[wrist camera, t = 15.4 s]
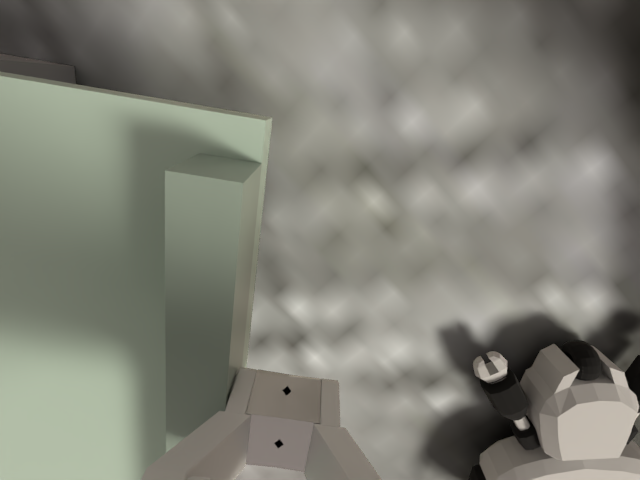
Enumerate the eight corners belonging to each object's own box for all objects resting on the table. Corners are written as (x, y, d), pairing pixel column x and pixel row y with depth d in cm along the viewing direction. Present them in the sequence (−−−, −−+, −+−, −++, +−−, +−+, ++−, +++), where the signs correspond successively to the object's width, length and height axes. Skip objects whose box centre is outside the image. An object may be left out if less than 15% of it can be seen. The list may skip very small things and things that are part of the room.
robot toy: (449, 325, 23) (450, 501, 27) (476, 373, 18) (472, 572, 23) (659, 308, 22) (624, 493, 26) (739, 355, 18) (680, 566, 22)
